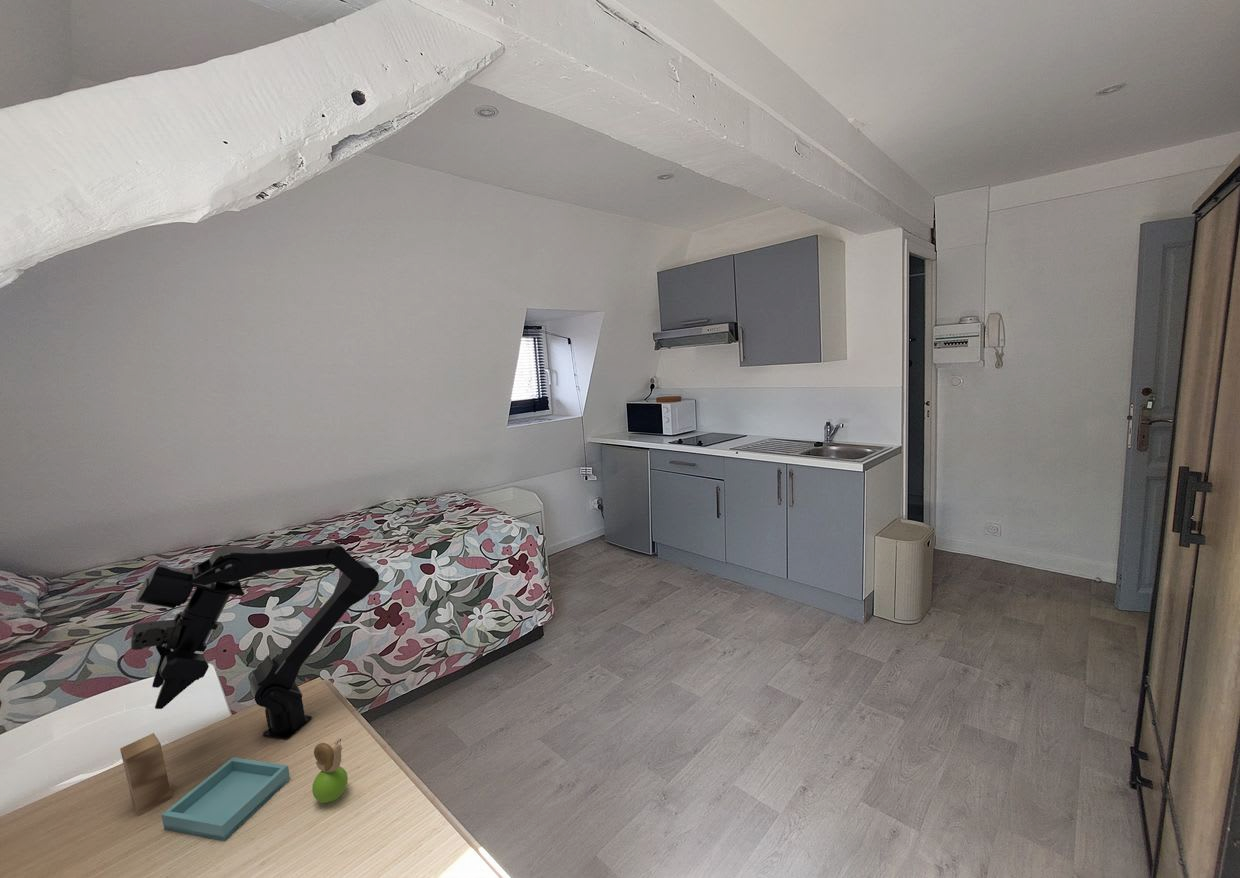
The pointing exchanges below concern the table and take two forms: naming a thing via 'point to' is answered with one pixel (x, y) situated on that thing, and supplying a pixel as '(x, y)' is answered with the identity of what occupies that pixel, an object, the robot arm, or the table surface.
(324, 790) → the snail figurine
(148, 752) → the walnut block
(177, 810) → the teal tray
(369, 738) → the table surface
